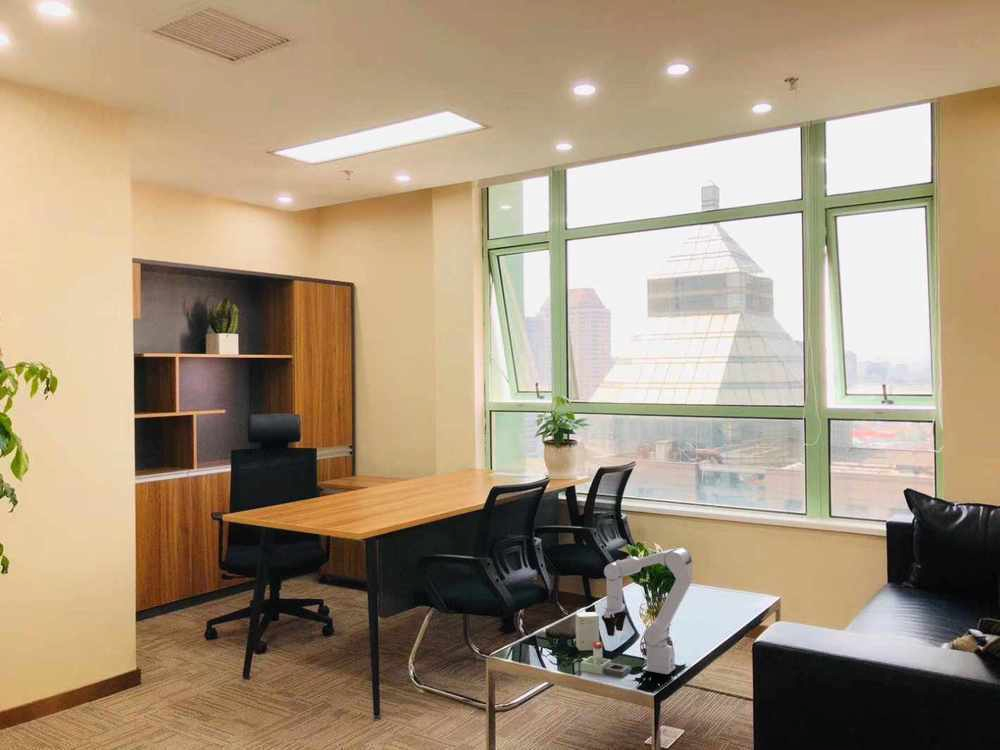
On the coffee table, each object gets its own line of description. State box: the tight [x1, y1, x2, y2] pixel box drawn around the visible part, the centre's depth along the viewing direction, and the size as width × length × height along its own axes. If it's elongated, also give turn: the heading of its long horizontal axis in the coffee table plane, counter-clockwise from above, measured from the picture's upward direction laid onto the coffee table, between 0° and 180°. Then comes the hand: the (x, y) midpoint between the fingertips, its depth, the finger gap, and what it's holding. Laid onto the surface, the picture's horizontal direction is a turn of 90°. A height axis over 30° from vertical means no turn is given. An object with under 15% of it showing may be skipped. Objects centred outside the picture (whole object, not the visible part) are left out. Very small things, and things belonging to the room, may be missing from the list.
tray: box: [580, 655, 612, 675], centre depth 291 cm, size 8×8×3 cm
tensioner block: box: [603, 662, 631, 678], centre depth 287 cm, size 7×7×2 cm
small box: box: [575, 611, 600, 651], centre depth 316 cm, size 8×6×13 cm
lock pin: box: [592, 640, 604, 665], centre depth 291 cm, size 4×4×9 cm
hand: (615, 633), depth 299 cm, fingers open, 7 cm apart
